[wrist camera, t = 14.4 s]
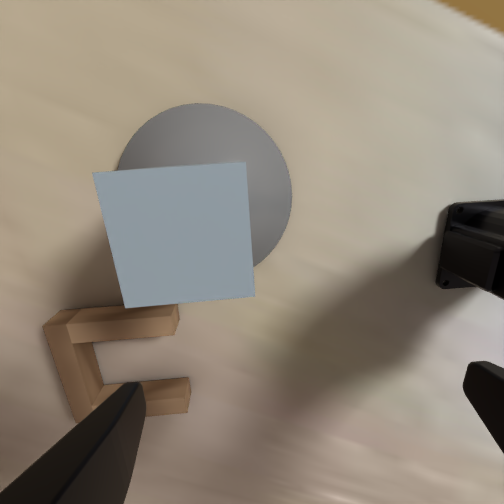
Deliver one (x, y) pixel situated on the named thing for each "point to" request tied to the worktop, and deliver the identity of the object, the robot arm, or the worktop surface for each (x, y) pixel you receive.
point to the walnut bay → (104, 329)
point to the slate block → (179, 232)
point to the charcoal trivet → (220, 160)
